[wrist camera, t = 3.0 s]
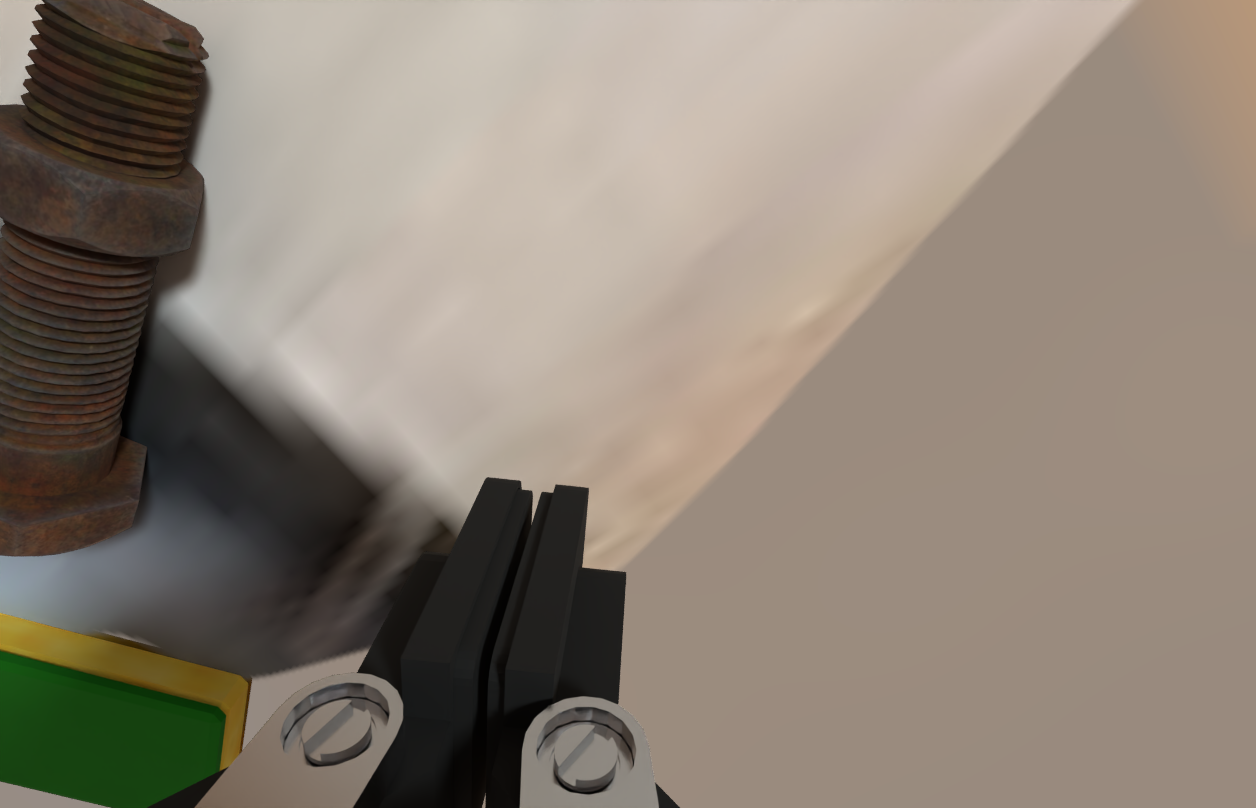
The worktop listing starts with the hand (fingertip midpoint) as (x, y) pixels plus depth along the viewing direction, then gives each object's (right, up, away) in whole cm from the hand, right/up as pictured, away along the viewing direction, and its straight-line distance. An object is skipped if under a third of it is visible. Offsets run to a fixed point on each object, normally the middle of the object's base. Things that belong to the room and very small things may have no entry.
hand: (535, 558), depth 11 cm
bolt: (-13, +7, +9) cm, 17 cm away
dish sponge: (-21, -9, +17) cm, 29 cm away
